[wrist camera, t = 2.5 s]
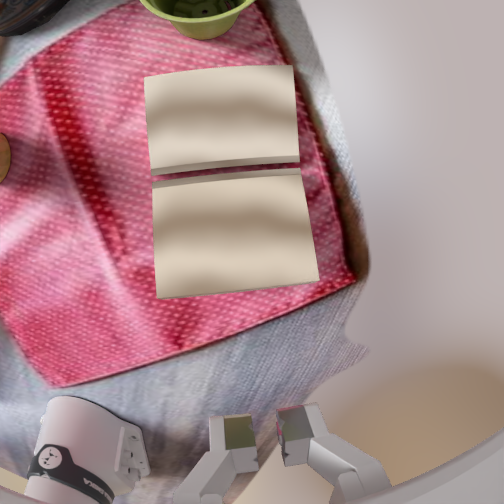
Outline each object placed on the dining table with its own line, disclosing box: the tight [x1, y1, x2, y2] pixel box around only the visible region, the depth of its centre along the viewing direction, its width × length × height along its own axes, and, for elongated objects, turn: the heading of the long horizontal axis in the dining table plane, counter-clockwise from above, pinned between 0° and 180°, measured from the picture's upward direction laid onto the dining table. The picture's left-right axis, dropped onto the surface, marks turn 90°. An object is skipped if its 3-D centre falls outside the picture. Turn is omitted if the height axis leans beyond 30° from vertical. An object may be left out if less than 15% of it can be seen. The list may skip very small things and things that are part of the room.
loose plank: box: [152, 168, 319, 299], centre depth 26 cm, size 10×13×2 cm
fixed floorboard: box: [144, 65, 300, 176], centre depth 25 cm, size 9×13×2 cm
